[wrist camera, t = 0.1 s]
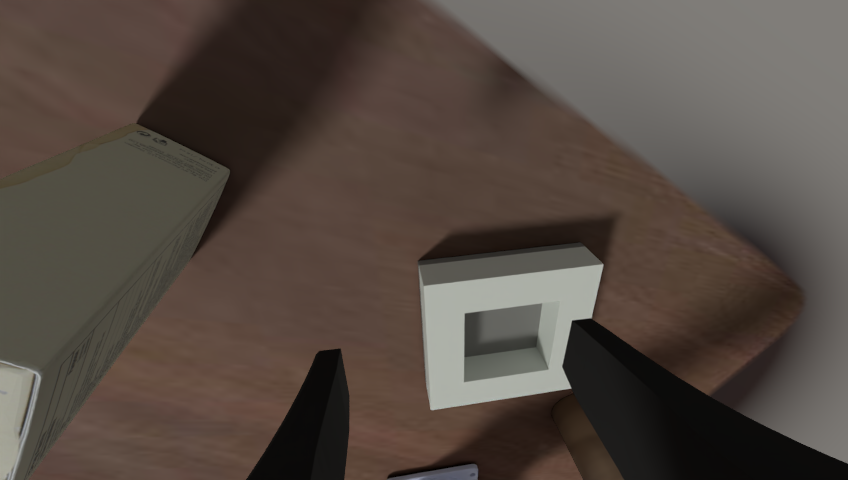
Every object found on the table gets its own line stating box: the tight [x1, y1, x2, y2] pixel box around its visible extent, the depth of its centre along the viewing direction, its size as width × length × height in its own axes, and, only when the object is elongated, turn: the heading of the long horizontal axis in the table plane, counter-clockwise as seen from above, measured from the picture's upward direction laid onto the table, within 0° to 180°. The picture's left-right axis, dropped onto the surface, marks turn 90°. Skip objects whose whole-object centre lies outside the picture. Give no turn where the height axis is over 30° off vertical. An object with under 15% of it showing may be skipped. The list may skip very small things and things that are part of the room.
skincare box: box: [0, 123, 230, 480], centre depth 13 cm, size 6×4×12 cm
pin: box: [551, 394, 624, 480], centre depth 27 cm, size 4×4×7 cm
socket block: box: [418, 242, 604, 410], centre depth 23 cm, size 10×10×2 cm
